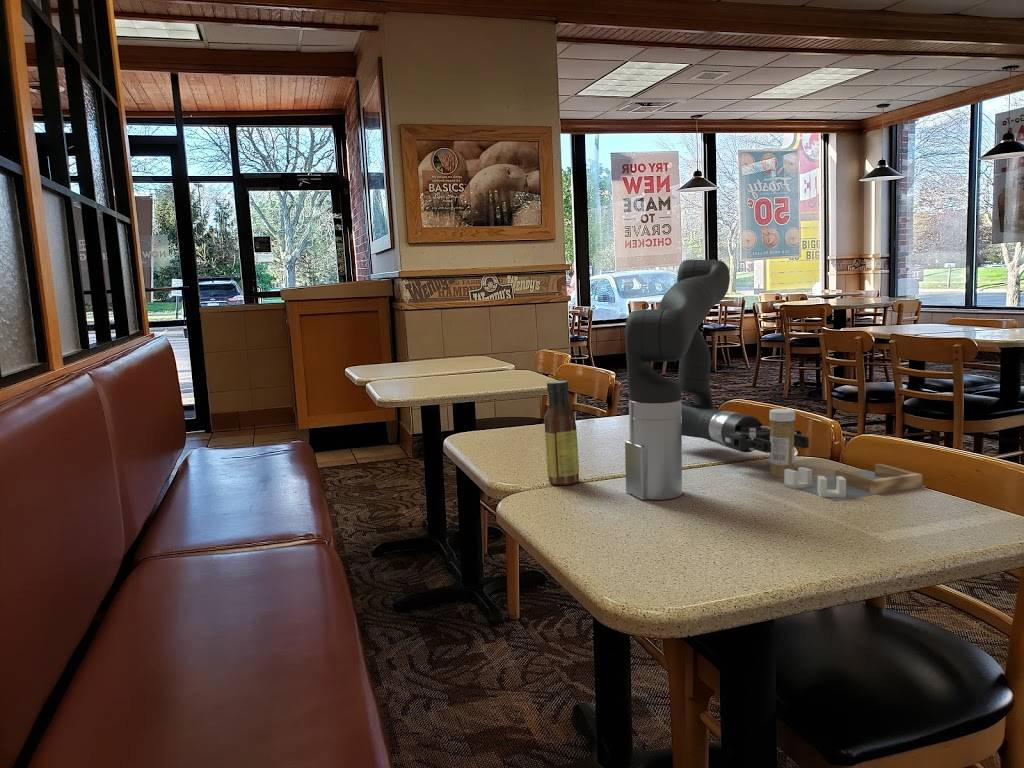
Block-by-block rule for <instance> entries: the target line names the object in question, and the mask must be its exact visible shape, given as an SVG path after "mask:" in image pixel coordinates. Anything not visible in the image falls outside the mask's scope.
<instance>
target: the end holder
mask: <svg viewBox="0 0 1024 768" xmlns="http://www.w3.org/2000/svg"><path fill="white" fill-rule="evenodd" d="M874 472H875V476H877V477H881V478H879V479H874V478H870V477H867V476H863V475H860V474H856V473H853V472H850V471H849V470H846V469H841V468H840V469H839V468H838V469H837V468H836V469H835V471H834V474H835V482H836V476H843V477H844V478H845V479H846V485H848V486H851V487H854V488H857V489H861V490H864V491H867V492H870V493H873V494H878V495H880V494H879V493H885V492H891V493H893V492H892V491H898V490H904V491H906V490H905V489H911V488H917V487H922V485H923V474H922V473H918V472H914V471H911V470H908V469H907V470H906V469H903V468H900V467H895V466H891V465H888V464H884V463H874ZM917 489H918V488H917ZM911 490H912V489H911ZM898 492H899V491H898ZM885 494H886V493H885Z"/></svg>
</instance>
